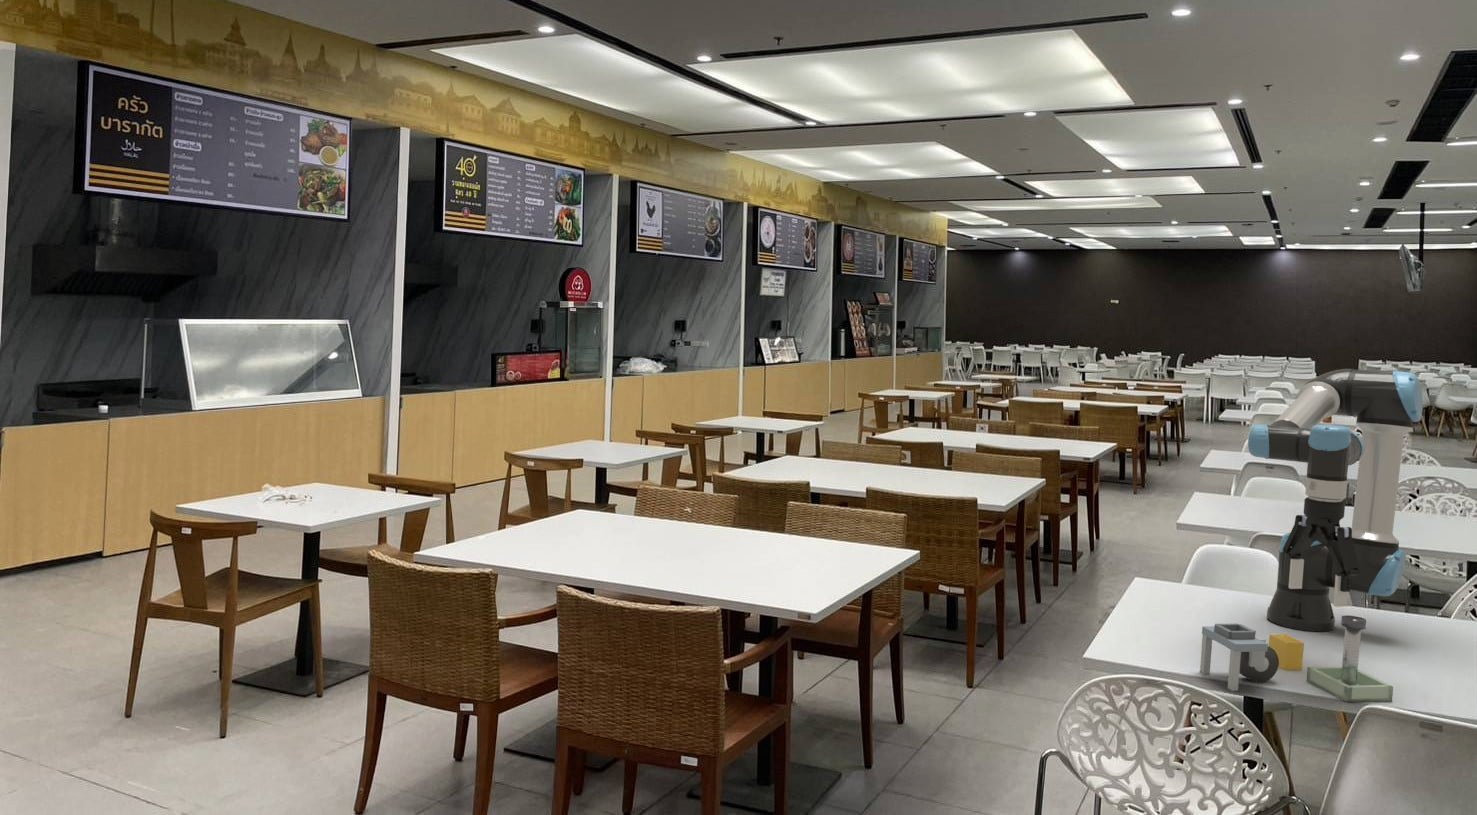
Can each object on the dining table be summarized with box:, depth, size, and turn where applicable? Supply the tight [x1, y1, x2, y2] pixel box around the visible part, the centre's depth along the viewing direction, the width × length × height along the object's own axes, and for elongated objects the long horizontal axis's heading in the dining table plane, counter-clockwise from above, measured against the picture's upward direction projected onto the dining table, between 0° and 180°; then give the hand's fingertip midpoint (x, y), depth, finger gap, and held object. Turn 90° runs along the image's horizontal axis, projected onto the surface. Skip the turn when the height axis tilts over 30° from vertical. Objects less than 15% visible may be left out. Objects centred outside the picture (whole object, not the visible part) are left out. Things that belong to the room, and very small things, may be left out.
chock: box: [1268, 633, 1305, 671], centre depth 231 cm, size 4×6×6 cm, turn 8°
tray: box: [1306, 666, 1394, 703], centre depth 216 cm, size 10×12×3 cm
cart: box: [1199, 623, 1279, 692], centre depth 220 cm, size 12×13×11 cm
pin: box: [1340, 615, 1367, 686], centre depth 215 cm, size 4×4×15 cm
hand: (1317, 597), depth 224 cm, fingers open, 13 cm apart
